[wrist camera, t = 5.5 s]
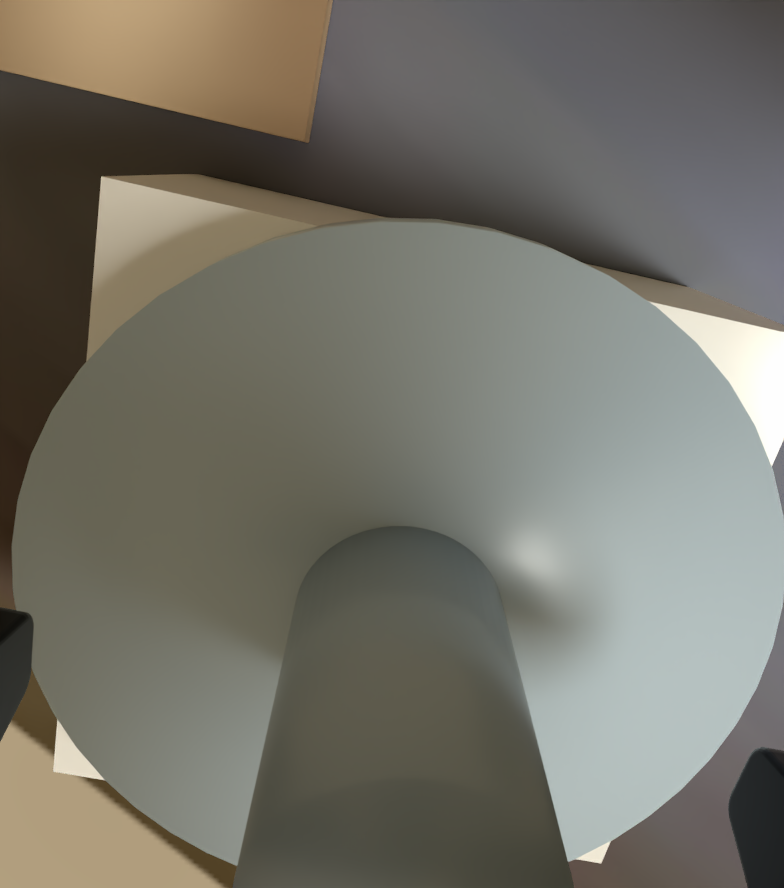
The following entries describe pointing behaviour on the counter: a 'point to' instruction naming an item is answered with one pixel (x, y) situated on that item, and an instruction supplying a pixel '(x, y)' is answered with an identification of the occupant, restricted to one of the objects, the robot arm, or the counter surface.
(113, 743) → the lid
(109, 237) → the dish
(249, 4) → the mat
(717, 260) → the counter surface
